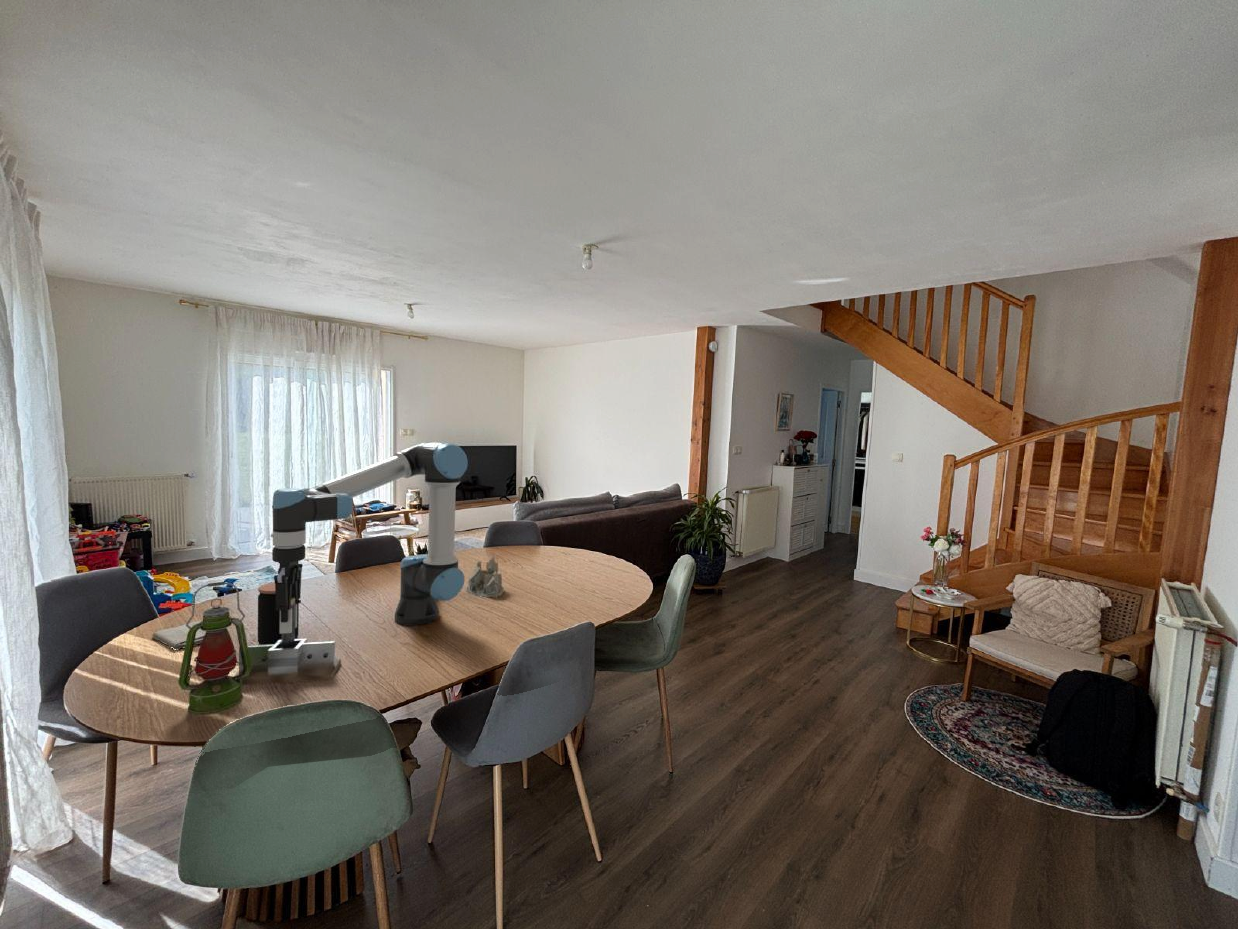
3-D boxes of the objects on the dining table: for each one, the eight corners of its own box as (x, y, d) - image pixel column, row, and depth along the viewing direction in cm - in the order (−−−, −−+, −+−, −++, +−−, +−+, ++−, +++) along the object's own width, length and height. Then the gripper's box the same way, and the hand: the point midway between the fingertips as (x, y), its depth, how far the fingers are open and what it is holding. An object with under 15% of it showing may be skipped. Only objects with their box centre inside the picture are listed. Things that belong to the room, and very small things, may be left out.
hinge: (337, 660, 144) (338, 637, 144) (330, 672, 137) (330, 647, 137) (245, 666, 138) (245, 641, 138) (233, 678, 132) (233, 652, 131)
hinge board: (340, 664, 145) (340, 659, 145) (331, 679, 137) (331, 673, 137) (245, 670, 139) (245, 665, 139) (229, 686, 131) (229, 680, 131)
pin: (296, 660, 140) (296, 597, 139) (292, 665, 137) (292, 600, 136) (284, 661, 139) (284, 597, 138) (279, 666, 136) (280, 600, 135)
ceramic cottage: (467, 586, 223) (469, 553, 222) (505, 587, 226) (507, 555, 224) (461, 599, 208) (464, 565, 206) (502, 601, 211) (504, 566, 209)
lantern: (177, 723, 114) (176, 593, 112) (179, 702, 122) (179, 581, 120) (252, 704, 123) (253, 584, 121) (250, 686, 131) (250, 573, 129)
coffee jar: (306, 638, 162) (306, 583, 161) (274, 651, 152) (274, 592, 151) (282, 633, 165) (282, 579, 164) (249, 645, 155) (249, 588, 154)
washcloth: (175, 653, 149) (176, 643, 149) (150, 639, 157) (150, 629, 157) (222, 640, 159) (223, 630, 159) (196, 627, 168) (196, 618, 168)
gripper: (285, 539, 143) (284, 620, 144) (260, 552, 127) (259, 642, 129) (314, 539, 145) (313, 619, 146) (293, 552, 129) (292, 641, 131)
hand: (288, 630), depth 137 cm, fingers closed on pin, 3 cm apart
